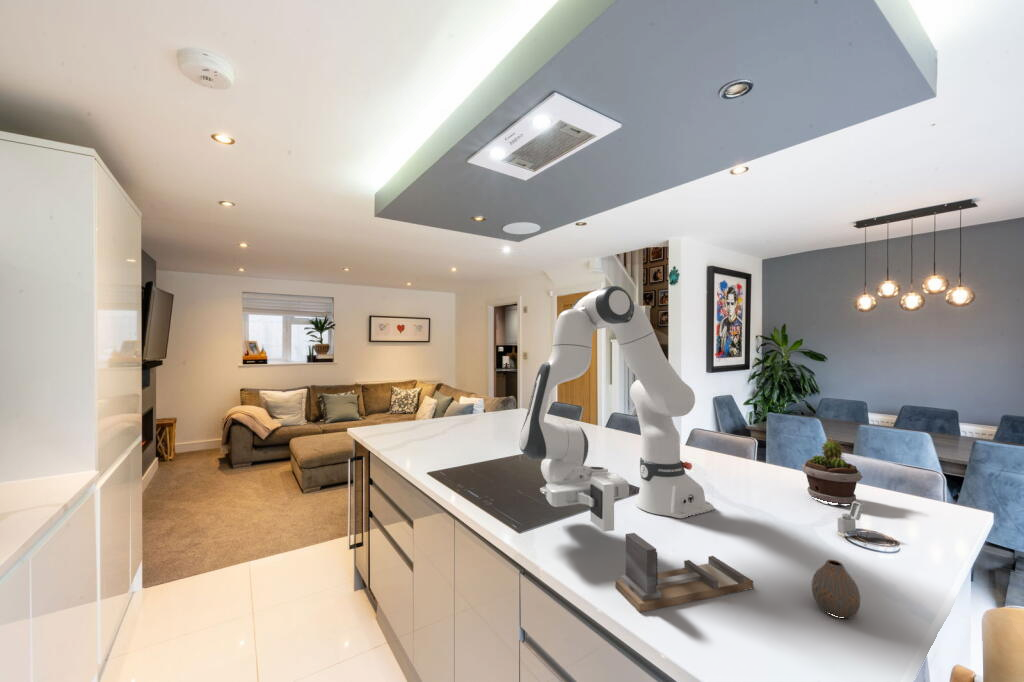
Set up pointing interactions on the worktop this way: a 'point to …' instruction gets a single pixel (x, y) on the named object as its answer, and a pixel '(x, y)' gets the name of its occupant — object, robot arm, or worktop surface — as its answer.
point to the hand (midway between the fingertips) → (603, 501)
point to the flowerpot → (831, 475)
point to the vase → (835, 590)
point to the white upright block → (602, 503)
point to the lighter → (850, 518)
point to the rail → (673, 579)
